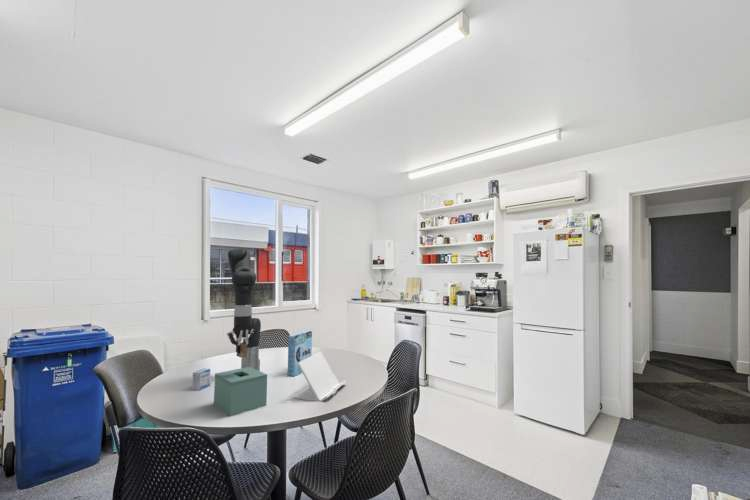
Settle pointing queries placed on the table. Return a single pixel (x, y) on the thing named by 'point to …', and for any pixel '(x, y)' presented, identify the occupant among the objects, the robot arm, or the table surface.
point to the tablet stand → (317, 379)
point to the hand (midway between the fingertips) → (241, 352)
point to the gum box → (298, 350)
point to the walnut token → (243, 350)
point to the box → (240, 390)
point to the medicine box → (201, 379)
